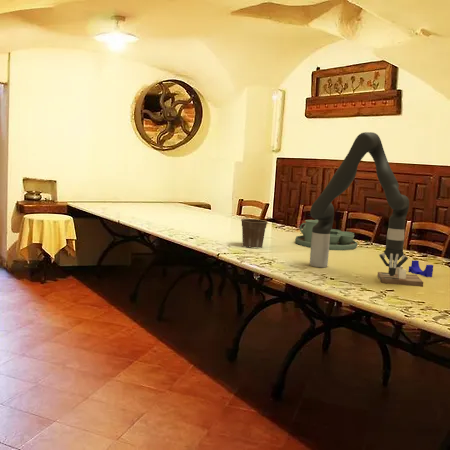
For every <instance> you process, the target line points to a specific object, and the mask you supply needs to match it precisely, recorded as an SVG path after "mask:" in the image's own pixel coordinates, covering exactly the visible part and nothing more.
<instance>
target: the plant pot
mask: <svg viewBox="0 0 450 450" xmlns="http://www.w3.org/2000/svg"><path fill="white" fill-rule="evenodd" d="M240 221H241V227H242V229H241V231H242V246H243V247H244V246H246V247H245V248H248V247H249V248H251V247H261V248H263V244H264V239H265V238H264V237H265V233H266V228H267V224H268V221H267V220H263V219H257V218H241V219H240Z"/></svg>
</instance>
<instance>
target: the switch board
mask: <svg viewBox="0 0 450 450" xmlns="http://www.w3.org/2000/svg"><path fill="white" fill-rule="evenodd" d="M376 276H377V277H378V280H379V281H380V282H381V283H382V284H392V285H401V286H413V287H423V286H424V281H423V280H422V279H421V278H420V277H419V275H418V274H407V273H406V279H399V278H398V275H394V276H390V274H389V273H388V272H384V271H378V272H377V275H376Z"/></svg>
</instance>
